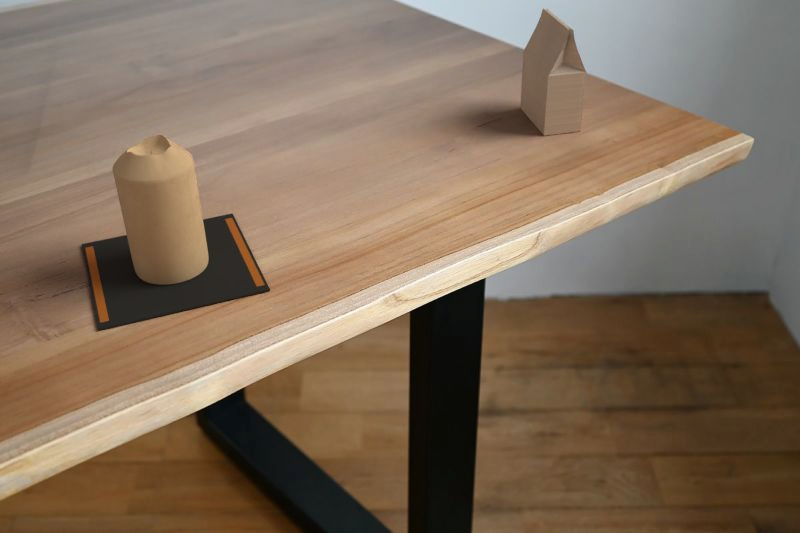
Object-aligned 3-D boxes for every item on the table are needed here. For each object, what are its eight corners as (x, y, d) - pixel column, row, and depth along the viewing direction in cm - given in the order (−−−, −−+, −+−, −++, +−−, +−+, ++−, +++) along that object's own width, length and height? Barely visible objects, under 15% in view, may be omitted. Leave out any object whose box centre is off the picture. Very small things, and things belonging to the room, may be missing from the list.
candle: (161, 240, 71) (138, 123, 66) (223, 252, 70) (204, 132, 64) (119, 278, 67) (91, 155, 61) (184, 291, 65) (161, 166, 60)
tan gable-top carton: (543, 135, 86) (551, 32, 81) (520, 108, 92) (525, 10, 86) (580, 131, 87) (590, 28, 81) (554, 104, 92) (562, 6, 87)
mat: (82, 245, 71) (81, 243, 71) (232, 214, 75) (232, 213, 75) (98, 330, 62) (98, 329, 62) (270, 290, 65) (269, 289, 65)
